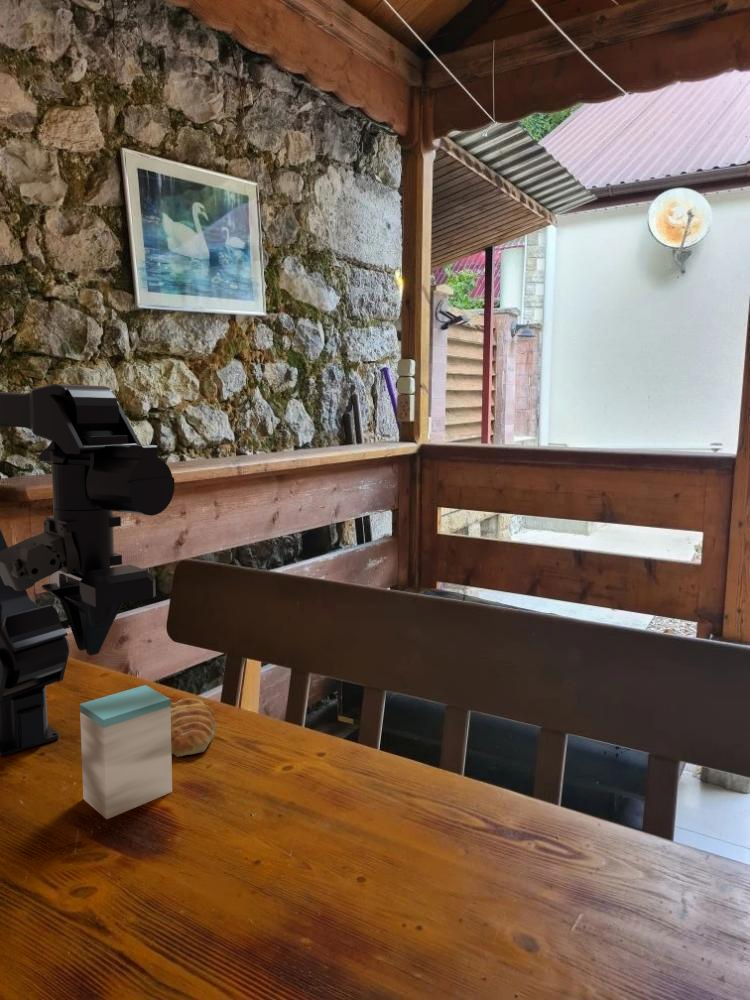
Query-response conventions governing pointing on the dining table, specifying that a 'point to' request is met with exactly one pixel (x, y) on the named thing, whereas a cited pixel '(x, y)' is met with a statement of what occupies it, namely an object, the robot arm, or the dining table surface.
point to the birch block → (126, 750)
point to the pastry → (191, 726)
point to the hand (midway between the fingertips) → (88, 651)
